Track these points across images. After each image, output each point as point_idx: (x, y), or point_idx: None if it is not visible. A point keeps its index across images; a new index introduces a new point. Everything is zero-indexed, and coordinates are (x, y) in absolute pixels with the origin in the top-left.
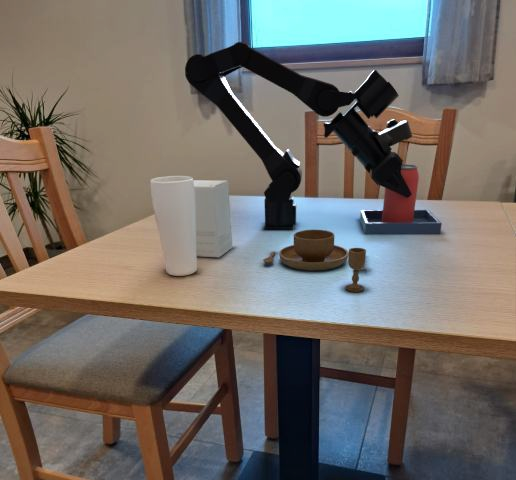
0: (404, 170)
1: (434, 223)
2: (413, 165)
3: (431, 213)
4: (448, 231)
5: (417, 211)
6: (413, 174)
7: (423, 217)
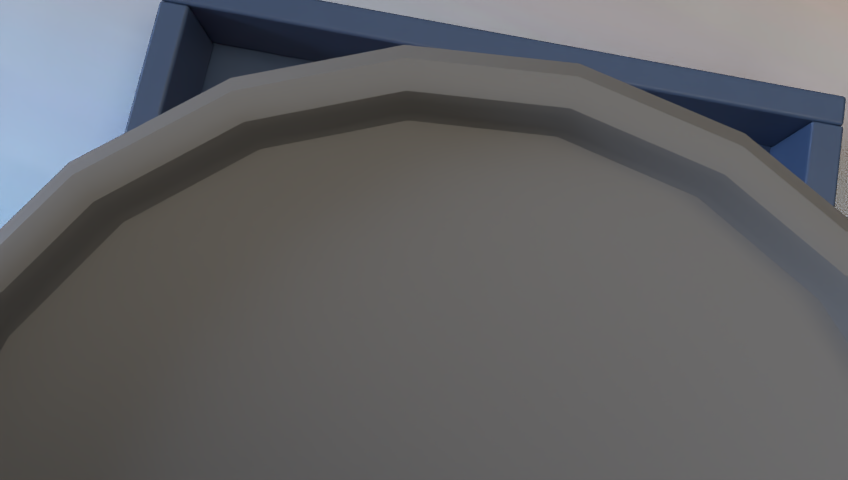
0: None
1: (836, 169)
2: (263, 119)
3: (376, 18)
4: (706, 23)
5: (168, 102)
6: None
7: (208, 58)
